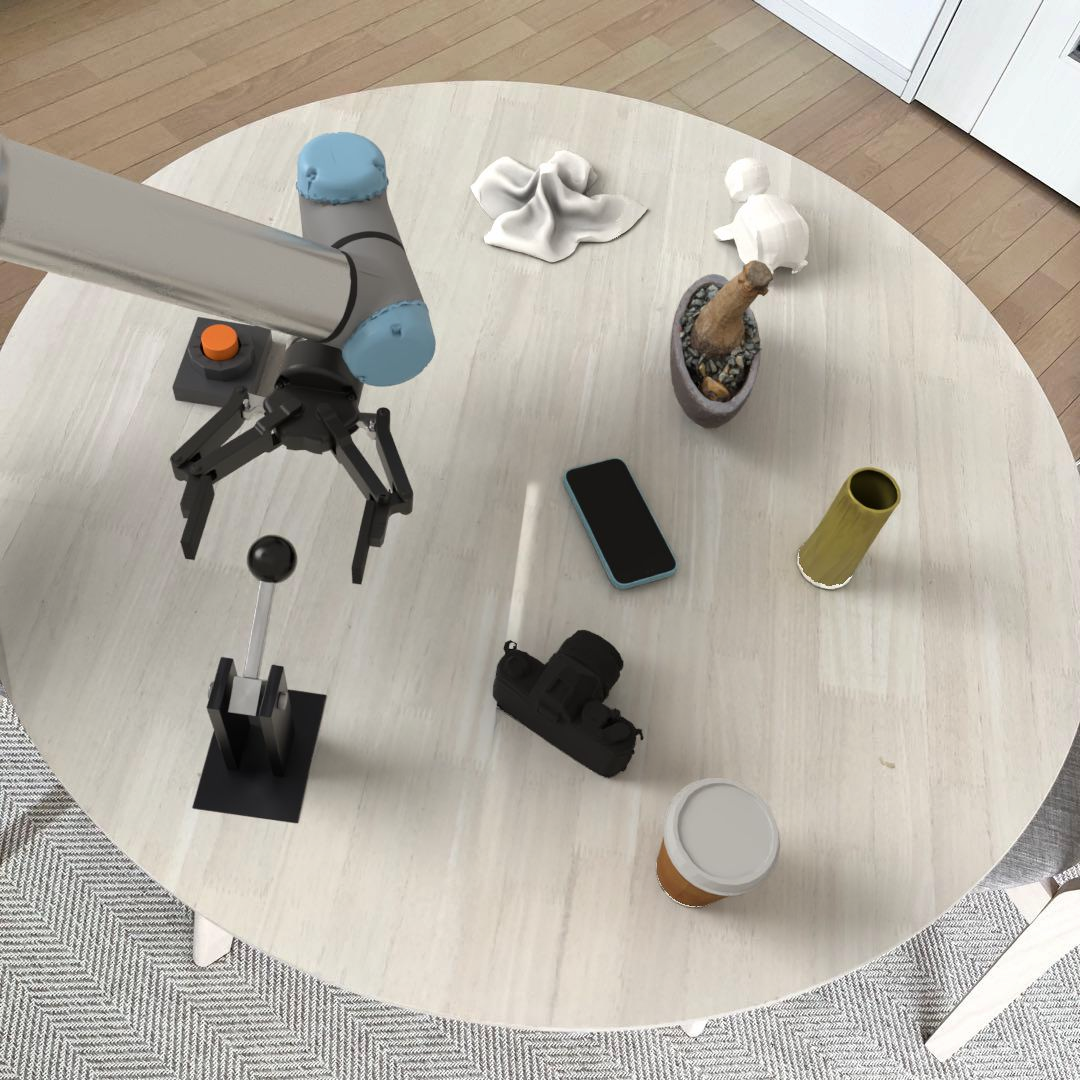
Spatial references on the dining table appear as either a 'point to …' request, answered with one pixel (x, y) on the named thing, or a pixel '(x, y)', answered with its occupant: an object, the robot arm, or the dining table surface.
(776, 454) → the dining table surface
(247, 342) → the control block
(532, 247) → the cloth
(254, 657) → the lever
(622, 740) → the film camera
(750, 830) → the disposable coffee cup
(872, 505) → the vase
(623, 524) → the smartphone
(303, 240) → the robot arm
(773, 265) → the white figurine
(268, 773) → the bracket
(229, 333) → the button
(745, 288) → the planter
